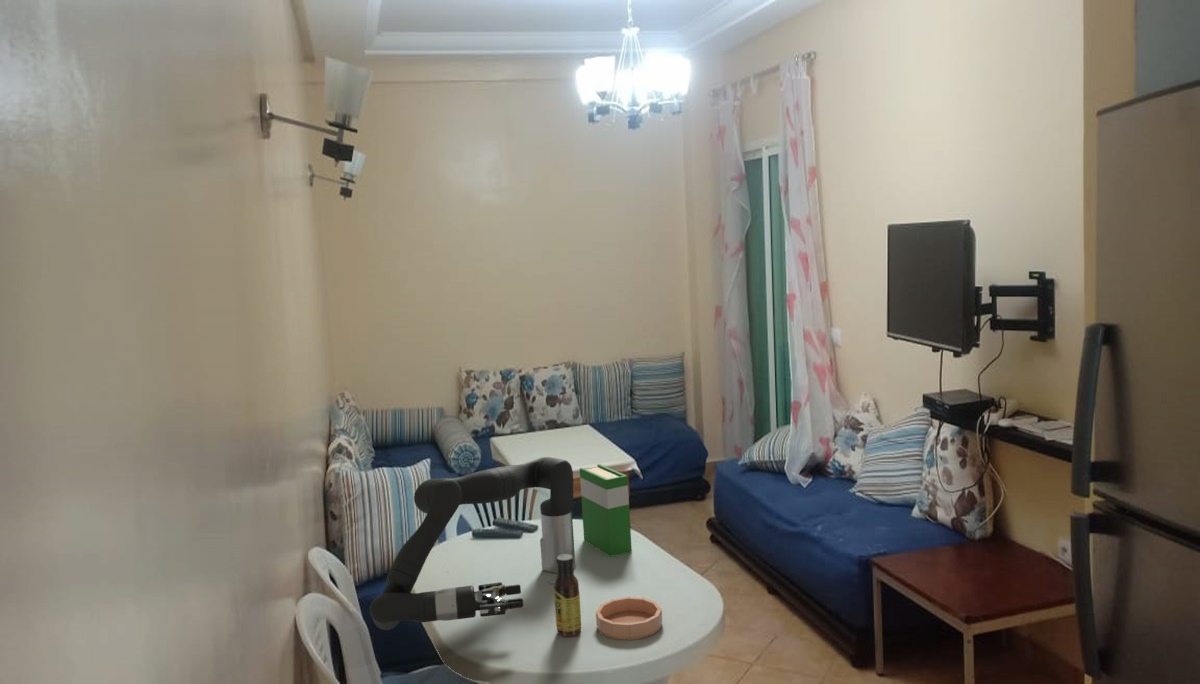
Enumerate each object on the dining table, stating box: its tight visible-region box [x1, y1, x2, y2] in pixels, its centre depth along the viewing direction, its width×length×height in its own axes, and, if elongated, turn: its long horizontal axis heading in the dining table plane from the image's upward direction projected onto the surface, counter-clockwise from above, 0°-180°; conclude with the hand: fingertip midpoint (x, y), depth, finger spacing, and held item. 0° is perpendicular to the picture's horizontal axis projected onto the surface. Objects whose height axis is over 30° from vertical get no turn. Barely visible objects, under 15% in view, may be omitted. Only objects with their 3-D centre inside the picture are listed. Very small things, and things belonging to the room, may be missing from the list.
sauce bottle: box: [553, 554, 582, 637], centre depth 223 cm, size 6×6×20 cm
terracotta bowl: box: [595, 596, 663, 641], centre depth 226 cm, size 16×16×4 cm
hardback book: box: [579, 463, 633, 557], centre depth 283 cm, size 18×7×24 cm, turn 28°
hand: (521, 595), depth 222 cm, fingers open, 8 cm apart
